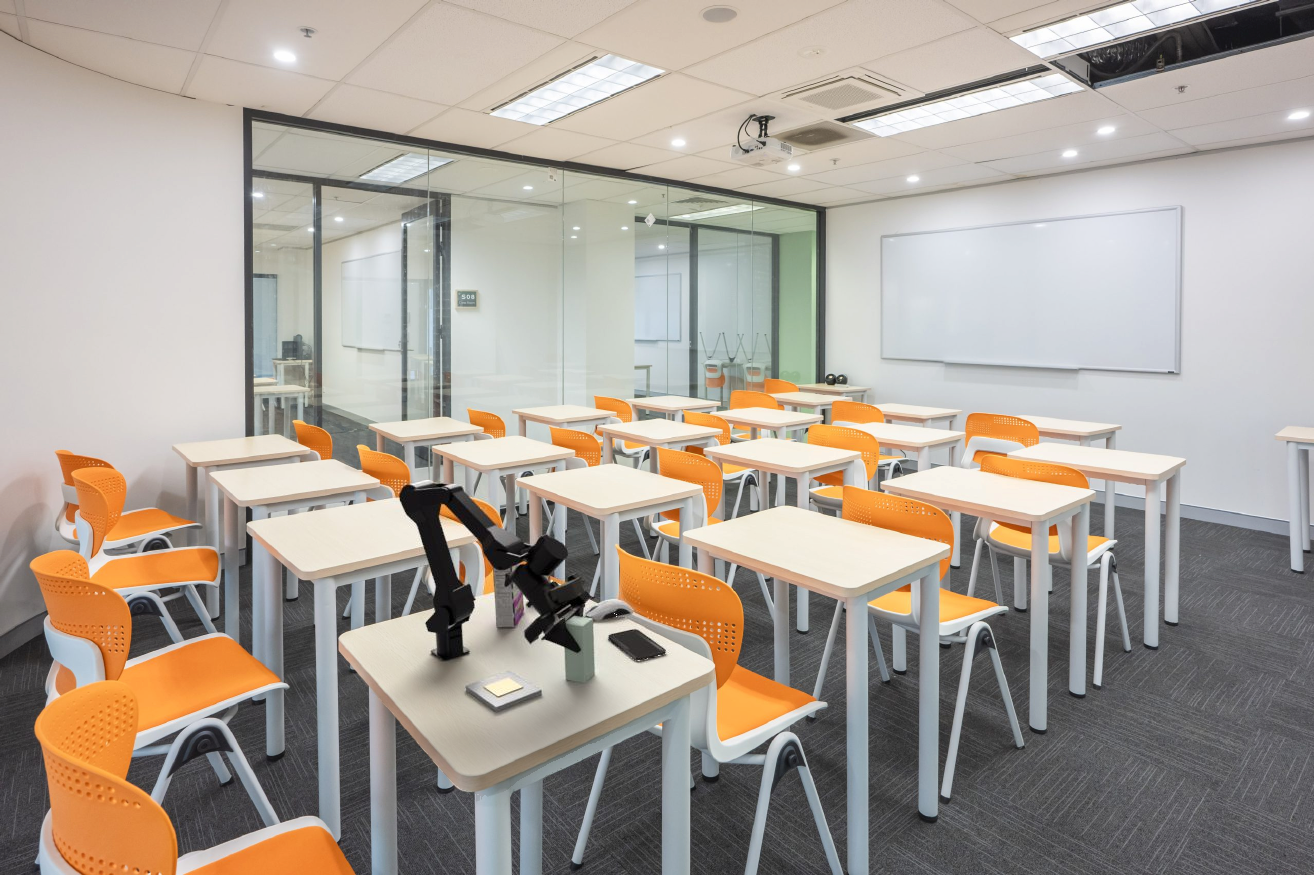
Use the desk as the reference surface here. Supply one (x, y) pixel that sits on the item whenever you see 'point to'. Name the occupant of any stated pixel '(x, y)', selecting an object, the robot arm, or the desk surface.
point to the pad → (503, 690)
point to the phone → (636, 644)
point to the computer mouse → (609, 610)
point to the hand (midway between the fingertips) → (585, 647)
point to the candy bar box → (507, 600)
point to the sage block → (583, 662)
